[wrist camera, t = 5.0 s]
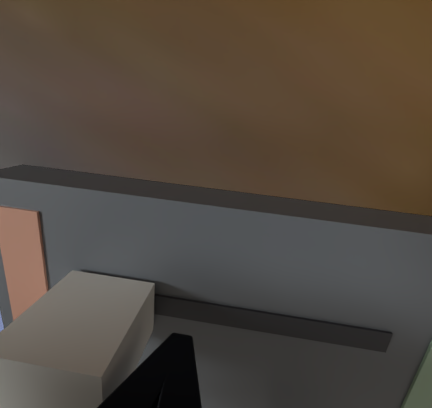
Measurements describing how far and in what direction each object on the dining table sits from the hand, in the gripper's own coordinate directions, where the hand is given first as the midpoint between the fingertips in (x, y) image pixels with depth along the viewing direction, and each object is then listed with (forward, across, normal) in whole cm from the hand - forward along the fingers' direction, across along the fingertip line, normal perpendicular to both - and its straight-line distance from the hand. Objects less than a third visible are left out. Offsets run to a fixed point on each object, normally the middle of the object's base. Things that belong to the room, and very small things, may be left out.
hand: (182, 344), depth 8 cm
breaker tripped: (+1, +3, 0) cm, 3 cm away
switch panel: (+4, -1, +7) cm, 8 cm away
